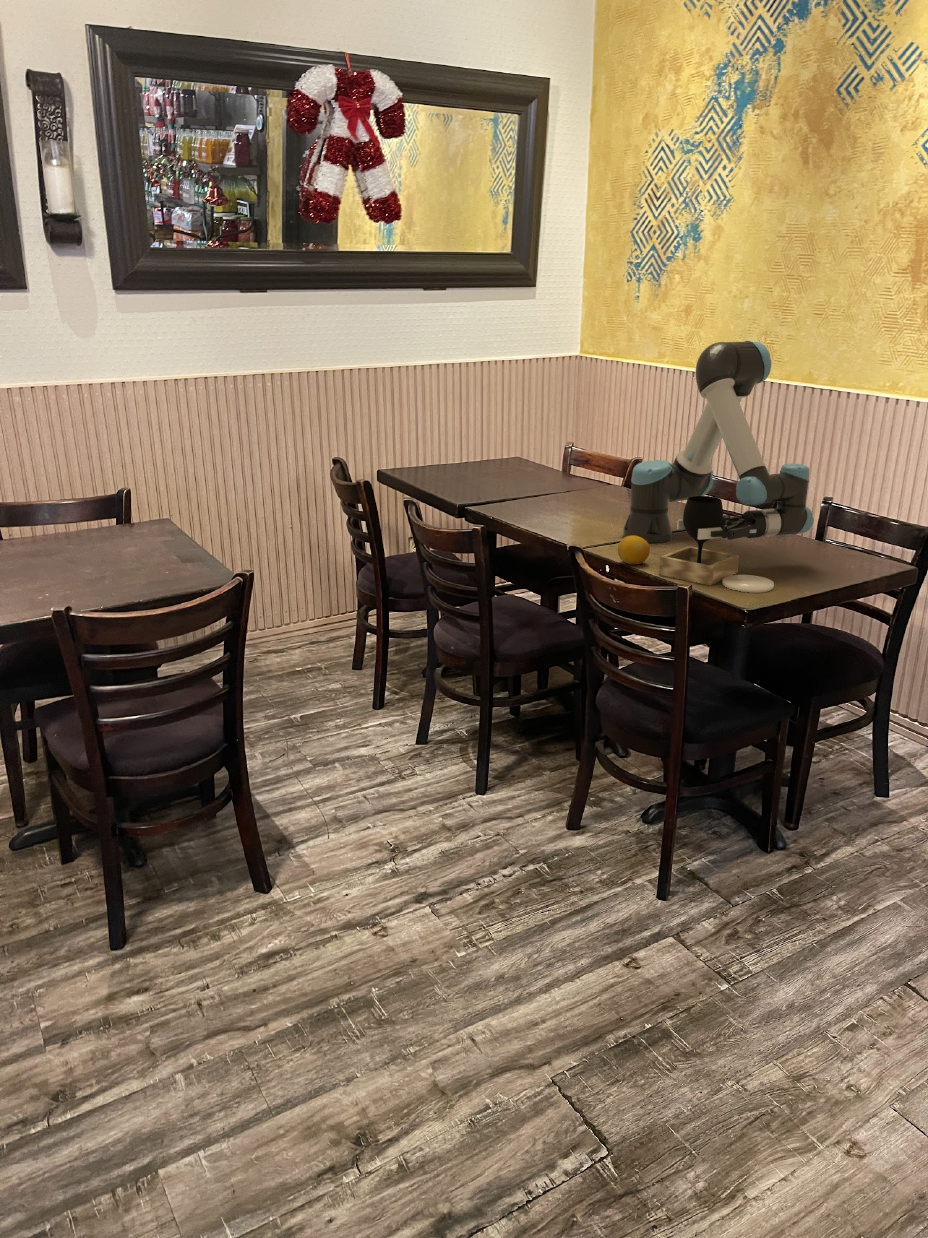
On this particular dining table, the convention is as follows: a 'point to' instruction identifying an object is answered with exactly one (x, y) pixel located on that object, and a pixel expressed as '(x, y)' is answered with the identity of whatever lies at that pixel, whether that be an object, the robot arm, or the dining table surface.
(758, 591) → the plate
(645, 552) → the fruit
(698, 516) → the wine glass
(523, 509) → the dining table surface
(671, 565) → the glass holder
